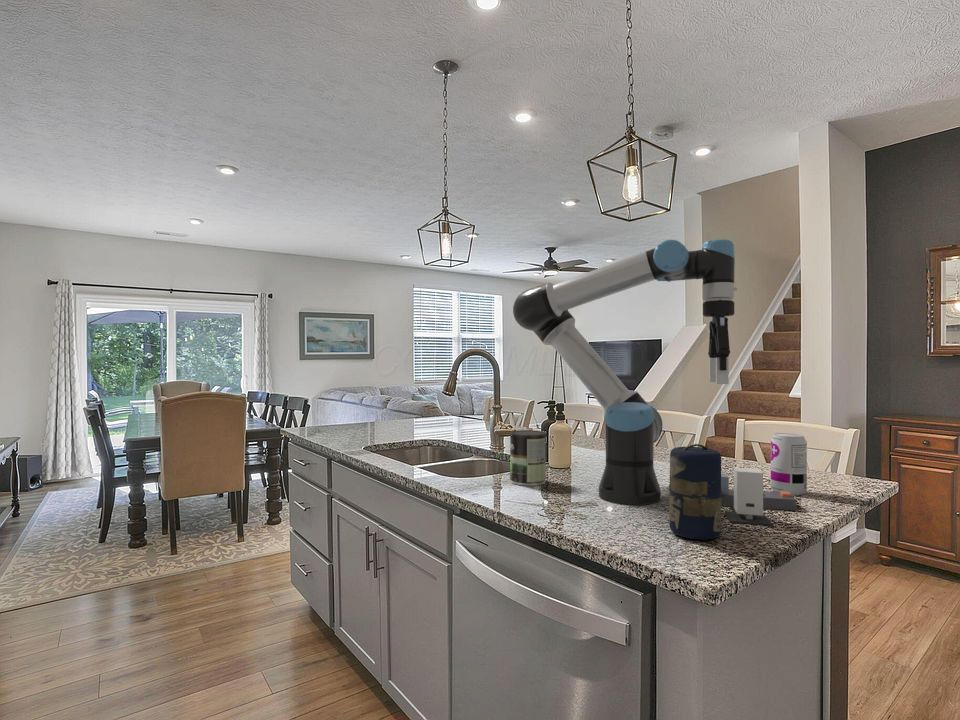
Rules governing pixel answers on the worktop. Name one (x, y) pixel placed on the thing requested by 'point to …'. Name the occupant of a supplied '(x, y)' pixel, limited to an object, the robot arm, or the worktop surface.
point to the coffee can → (527, 457)
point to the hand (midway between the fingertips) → (718, 383)
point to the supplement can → (789, 463)
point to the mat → (741, 519)
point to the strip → (770, 499)
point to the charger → (748, 492)
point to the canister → (695, 492)
